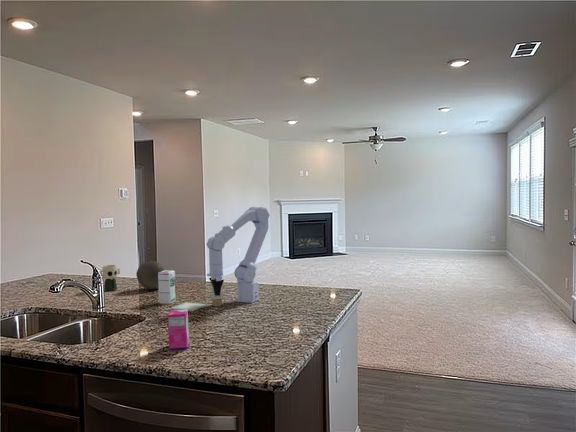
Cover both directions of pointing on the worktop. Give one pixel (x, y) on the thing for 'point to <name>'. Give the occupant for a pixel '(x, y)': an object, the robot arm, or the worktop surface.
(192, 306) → the green white square tile
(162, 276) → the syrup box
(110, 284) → the character mug
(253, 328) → the worktop surface
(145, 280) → the cantaloupe
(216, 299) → the sprinkles bottle
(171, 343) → the supplement box
